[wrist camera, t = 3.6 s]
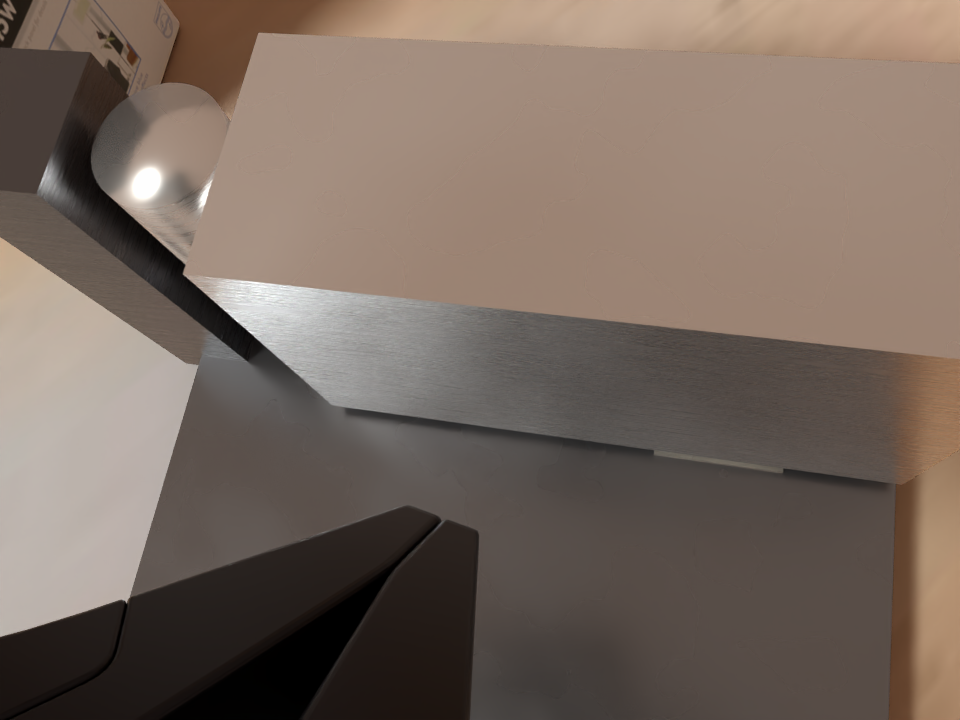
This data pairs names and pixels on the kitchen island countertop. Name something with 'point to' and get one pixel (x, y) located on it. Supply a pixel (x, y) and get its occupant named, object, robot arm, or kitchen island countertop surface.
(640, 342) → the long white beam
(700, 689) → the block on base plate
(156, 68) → the light bulb box
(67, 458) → the kitchen island countertop surface
